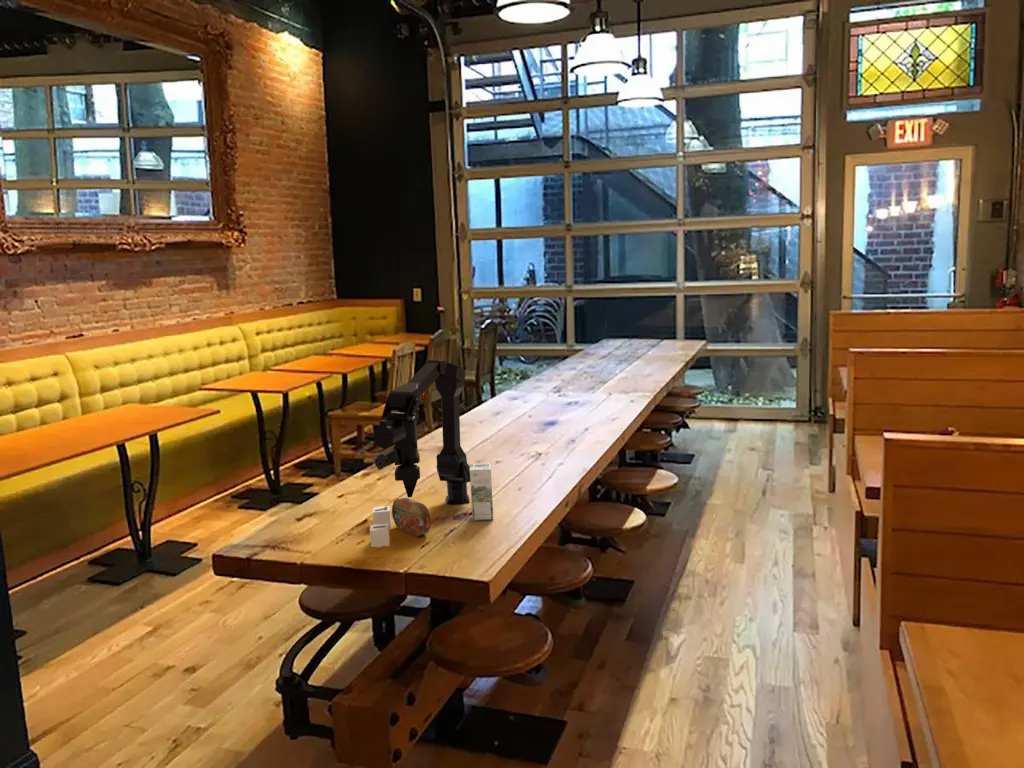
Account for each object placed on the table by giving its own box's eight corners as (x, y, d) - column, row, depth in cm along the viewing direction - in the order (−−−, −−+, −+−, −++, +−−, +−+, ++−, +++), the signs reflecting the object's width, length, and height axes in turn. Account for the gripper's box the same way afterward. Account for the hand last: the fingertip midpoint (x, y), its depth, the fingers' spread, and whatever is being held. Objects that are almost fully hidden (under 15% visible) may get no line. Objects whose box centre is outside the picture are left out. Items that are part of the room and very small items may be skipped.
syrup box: (493, 513, 227) (490, 462, 225) (493, 520, 221) (490, 468, 219) (472, 514, 227) (469, 463, 224) (472, 521, 221) (469, 469, 219)
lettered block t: (374, 522, 224) (373, 506, 224) (391, 521, 225) (390, 505, 224) (373, 528, 220) (372, 511, 219) (390, 527, 220) (389, 510, 220)
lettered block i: (372, 541, 211) (370, 524, 210) (389, 540, 211) (388, 522, 210) (371, 548, 206) (369, 530, 205) (389, 546, 207) (387, 528, 206)
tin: (392, 526, 221) (389, 495, 220) (402, 523, 223) (399, 493, 222) (423, 540, 210) (421, 508, 208) (433, 537, 212) (431, 505, 210)
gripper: (375, 432, 220) (379, 488, 223) (372, 450, 202) (376, 511, 205) (417, 429, 221) (421, 485, 224) (418, 446, 203) (422, 507, 206)
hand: (409, 496), depth 215 cm, fingers closed
